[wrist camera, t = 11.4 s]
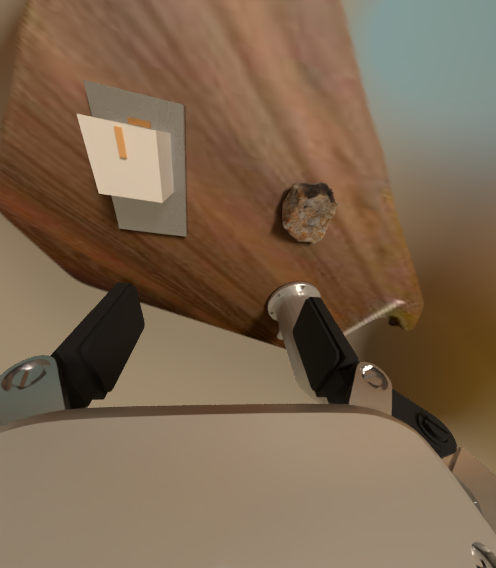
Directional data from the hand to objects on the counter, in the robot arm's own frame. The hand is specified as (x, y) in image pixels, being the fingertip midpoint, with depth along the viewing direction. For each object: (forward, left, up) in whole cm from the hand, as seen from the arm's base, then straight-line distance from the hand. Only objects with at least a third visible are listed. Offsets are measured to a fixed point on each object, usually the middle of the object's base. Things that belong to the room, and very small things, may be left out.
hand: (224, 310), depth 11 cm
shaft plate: (+2, +11, -23) cm, 26 cm away
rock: (+1, -14, -24) cm, 28 cm away
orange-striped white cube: (+4, +11, -22) cm, 25 cm away
